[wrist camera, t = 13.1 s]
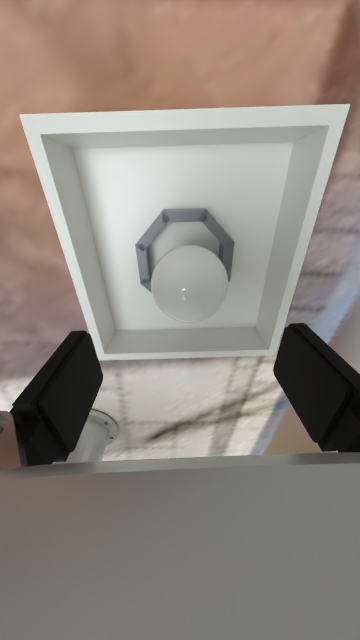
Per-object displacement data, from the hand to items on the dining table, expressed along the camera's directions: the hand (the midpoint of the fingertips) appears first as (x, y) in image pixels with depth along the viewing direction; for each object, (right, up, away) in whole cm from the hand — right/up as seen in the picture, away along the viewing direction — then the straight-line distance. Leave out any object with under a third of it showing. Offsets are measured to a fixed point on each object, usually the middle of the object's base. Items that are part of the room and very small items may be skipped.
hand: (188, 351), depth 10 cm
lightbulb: (0, +9, +14) cm, 16 cm away
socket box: (0, +9, +14) cm, 17 cm away
